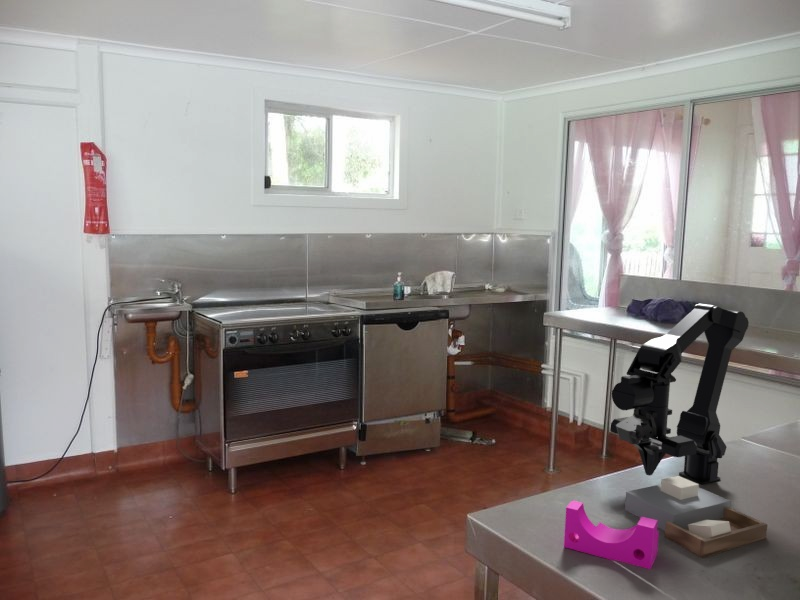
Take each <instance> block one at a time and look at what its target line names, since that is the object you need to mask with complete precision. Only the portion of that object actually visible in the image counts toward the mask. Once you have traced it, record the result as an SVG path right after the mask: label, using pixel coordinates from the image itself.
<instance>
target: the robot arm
mask: <svg viewBox="0 0 800 600" xmlns="http://www.w3.org/2000/svg"><path fill="white" fill-rule="evenodd" d="M748 328H749V318H748V317H747V316H746V314H745V313H744V311H738V310H732V309H725V308H722V307H719V306H717V305H715V304H714V305H713V304H709V303H707V304H706V303H698V304H695V305H694V306H693V307H692V309H691V311H690V312H689V313H688V314H686V315H685V316H684V317H683V318H682V319H681V320H680V321H679V322H678V323H676V325H674V326H673V327H672V328H671V329H670V330H668V332H667V333H665V334H664V335H662V336H659V337H655V338H651V339H650V340H648V341H647V342H645V343H643V344H642V345H641V346H640V347H639V348H638V350H637V352H636V354H635V356H634V358H633V360H632V362H631V363H630V366H629V367H628V370H627V372H626V375H623V376H621V377H620V381H619V382H618V383H616V384H615V385H614V386H613V388H612V390H611V399H612V402H613V404H614V405H615V407H617V408H618V409H619V410H621V411H629V410H633V414H632V415H631V416H626V417H619V418H613V420H612V421H611V422H610V432H611V433H612V434H613V433H614V434H616V435H617V436H618V439H619V440H620V441H624V442H626V443H628V444H630V445H633V446H634V447H635V448H636V449H637V451H638V453H639V456H640V458H641V462H642V466H643V469H644V473H645V475H647V476H650V477H651V476H653V474H654V473H655V471H656V469H657V467H658V466H659V464H660V463H661V461H662V460H663V458H664V457H665V456H666V454H667V455H668V456H671V457H674V458H682V457H683V458H684V467H683V471H679V472H678V476H680V477H683V478H685V479H687V480H690V481H692V482H694V483H697V484H699V485H700V484H701V485H704V484H709V483H714V482H717V481H721V477H720V476H718V475H719V474H718V473H719V462H718V459H723V457H724V456H725V453H726V450H727V445H726V443H725V442H724V439H722V437H721V435H720V431H721V423H720V420H719V417H718V414H717V408H718V405H719V401H720V397H721V393H722V390H723V386H724V381H725V378H726V375H727V371H728V367H729V363H730V359H731V354H732V352H733V350H734V349H735V348H736V347H737V346H738V345H740V344H741V342H743V340H744V337H745V335H746V332H747V330H748ZM703 333H704V335H705V338H706V341H707V350H706V352H705V353H706V354H705V358H704V360H703V365H702V370H701V372H700V376H699V381H698V383H697V384H698V385H697V387H696V392H695V396H694V399H693V404H692V406H691V407H690V408H688V409H687V410H682V411H681V412H680V415H679V420H678V423H677V426H676V435H675V436H667V435H670V434H671V431H672V429H671V428H669V427H668V418H669V417H668V416H670V415H673V409H671V408H669V403H670V402H669V401H670V390H671V389H670V387H671V383H675V382H676V381H677V378H676V377H675V376H674V375H673V374H672V373H673V372H674V371H675V370H676V369H677V368H678V366H679V365H680V363H682V354H683V353H684V351H686V349H687V348H689V346H690V345H691V344H693V343H694V342H695V341H696V340H697V339H699V337H700V336H701V335H702V334H703Z"/></svg>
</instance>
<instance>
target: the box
mask: <svg viewBox="0 0 800 600" xmlns="http://www.w3.org/2000/svg"><path fill="white" fill-rule="evenodd" d="M717 521H729V524H730V529H731V532H728V533H724V534H721V535H717V536H713V537H710V538H706V539H703V538H701V537H699V536H697V535H695V534H693V533H691V532H689V528H687V529H683V528H681V527H679V526H677V525H675V524H673V523H671V522H669V521H668V522H666V525H665V531H664V538H665V539H668V540H669V541H671V542H673V543H674V544H676V545H678V546H680V547H681V548H684V549H686V550H687V551H689V552H691V553H693V554H695V555H697V556H699V557H701V558H703V559H705V558H708V557H711V556H715V555H718V554H721V553H724V552H727V551H730V550H733V549H736V548H739V547H742V546H746V545H748V544H752V543H755V542H757V541H761V540H764V539H766V538H767V534H768V533H767V532H768V524H767V523H765V522H763V521H760V520H758V519H756V518H754V517H751V516H750V515H747V514H746V513H742V512H740V511H738V510H736V509H733V508H732V507H730V508H729V507H724V517H723V519H721V520H717Z"/></svg>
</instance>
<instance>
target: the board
mask: <svg viewBox="0 0 800 600" xmlns="http://www.w3.org/2000/svg"><path fill="white" fill-rule="evenodd" d="M731 503H732V501H731V500H730V499H729V498H728V499H727V498H725V497H723V496H720V495H718V494H715V493H713V492H712V491H708V489H707V490H706V489H704V488H702V487H700V486H699V488H698V496H695V497H691V498H686V499H682V500H680V499H677V498H675V497H673V496H671V495H669V494H667V493H664V492H662V491H661V483H660V484H656V485H651V486H645V487H642V488H638V489H637V488H636V489H632V490H628V491H626V492H625V503H624V510H625V511H627V513H630V514H632V515H634V516H636V517H637V518H639V519H640V518H641V517H646V518H650V519H654V520H658V521H657V529H660V530H662V531H664V532H665V525H666V522H668V521H669V522H671V523H673V524H675V525H677V526H679V527H681V528H683V529H687V528H688V524H692V523H696V522H700V521H704V520H721V519H723V517H724V507H729V508H731Z"/></svg>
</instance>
